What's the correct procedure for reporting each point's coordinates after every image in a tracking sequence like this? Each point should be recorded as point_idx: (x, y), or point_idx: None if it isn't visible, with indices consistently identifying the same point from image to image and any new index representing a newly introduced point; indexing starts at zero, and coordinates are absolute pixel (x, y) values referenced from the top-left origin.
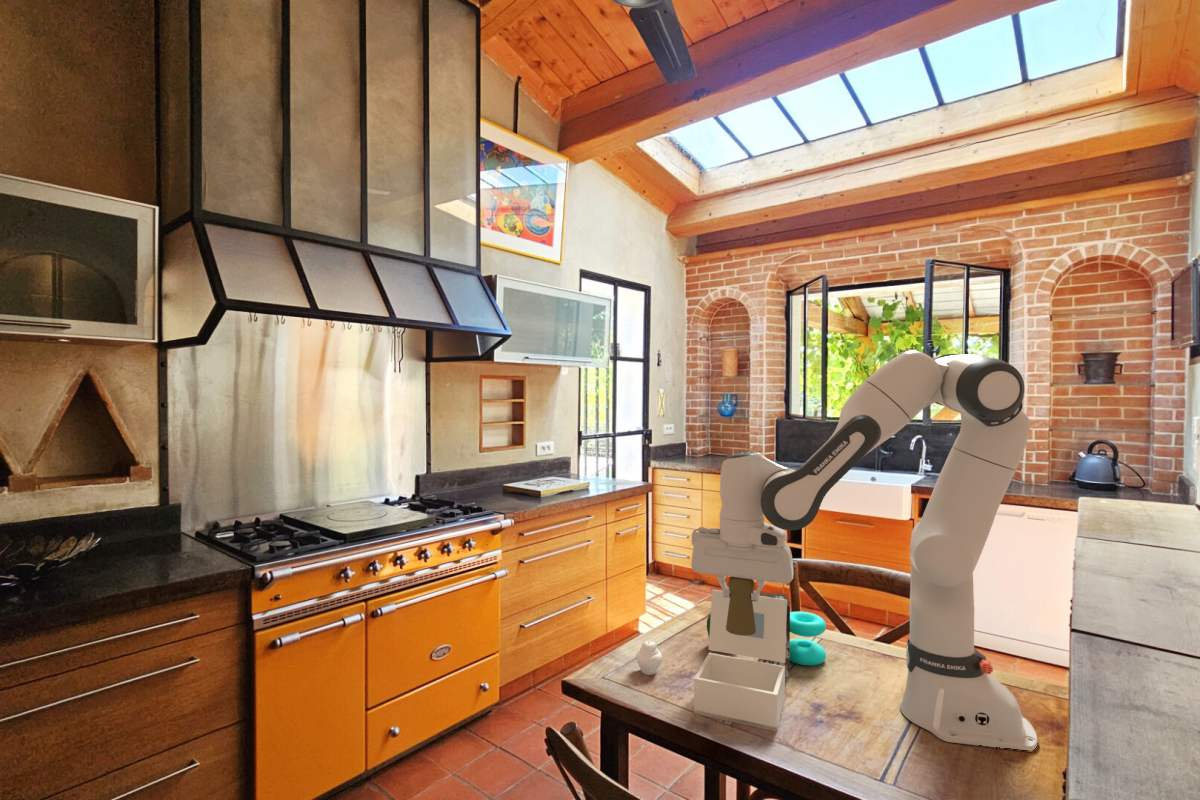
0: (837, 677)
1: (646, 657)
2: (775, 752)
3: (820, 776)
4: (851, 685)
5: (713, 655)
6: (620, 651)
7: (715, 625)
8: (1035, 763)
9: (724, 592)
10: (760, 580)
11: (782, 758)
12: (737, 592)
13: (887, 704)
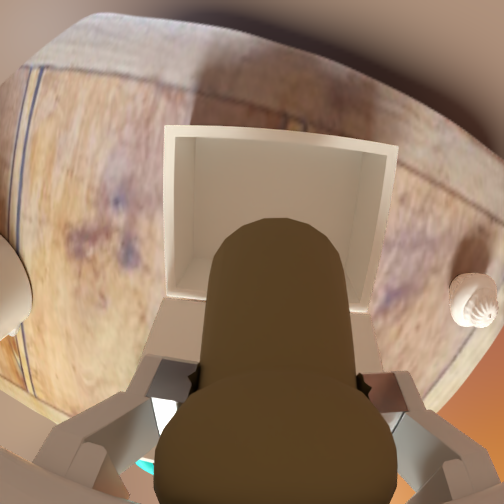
0: (119, 361)
1: (484, 283)
2: (188, 54)
3: (116, 26)
4: (96, 341)
5: (355, 302)
6: (494, 337)
7: (366, 369)
8: None
9: (407, 390)
10: (43, 468)
11: (175, 42)
12: (307, 373)
13: (45, 295)
